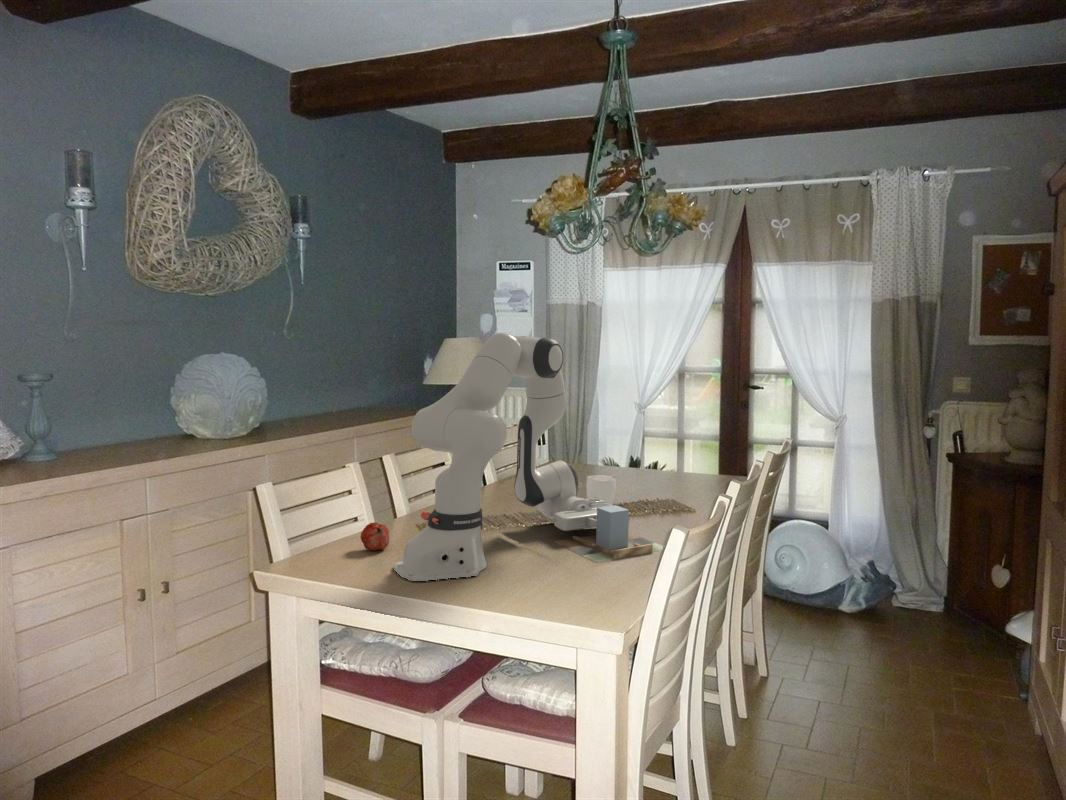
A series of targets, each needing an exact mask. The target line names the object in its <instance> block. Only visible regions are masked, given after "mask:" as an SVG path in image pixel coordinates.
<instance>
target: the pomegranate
mask: <svg viewBox="0 0 1066 800" xmlns="http://www.w3.org/2000/svg"><path fill="white" fill-rule="evenodd" d="M389 533H390V531H389V528H388V526H387V525H385V524H380V523H378V522H370V523H369V524H367V525H365V527H364V528H363V529H362V531H361V533H360V541H361V543H363V546H364V548H365V549H367V550H368V551H371V550H374V551H379V550H381V549H382V550H385V549H386V548H387V547H388V546H389V543H390V534H389Z"/></svg>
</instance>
